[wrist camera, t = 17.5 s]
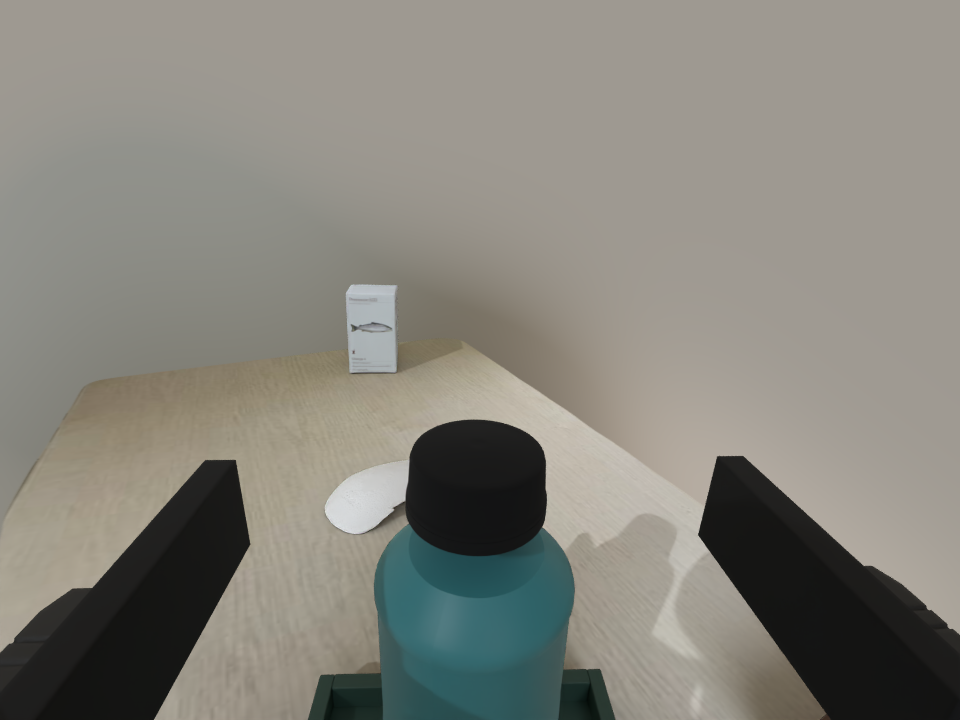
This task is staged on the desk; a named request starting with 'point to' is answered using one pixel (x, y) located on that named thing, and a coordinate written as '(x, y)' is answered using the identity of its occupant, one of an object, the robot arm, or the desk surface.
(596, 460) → the desk surface
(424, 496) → the beverage bottle
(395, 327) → the white packaging box
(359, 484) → the computer mouse
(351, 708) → the tray
